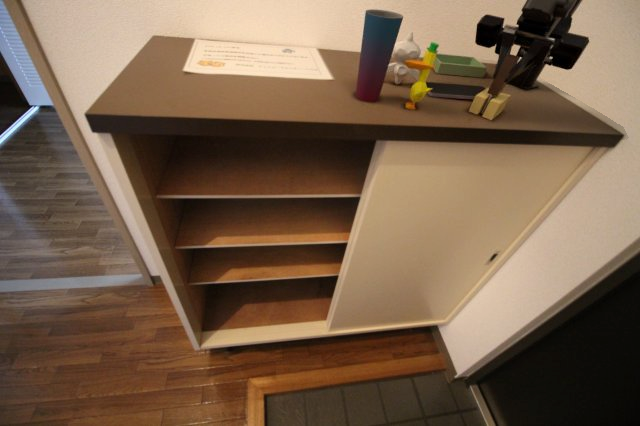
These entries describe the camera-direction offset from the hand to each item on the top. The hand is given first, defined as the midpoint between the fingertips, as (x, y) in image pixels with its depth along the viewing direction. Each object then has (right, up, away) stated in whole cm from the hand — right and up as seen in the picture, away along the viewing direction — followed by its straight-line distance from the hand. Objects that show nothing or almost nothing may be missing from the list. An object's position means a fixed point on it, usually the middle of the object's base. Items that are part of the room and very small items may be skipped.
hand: (499, 79), depth 55 cm
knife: (0, -4, +6) cm, 7 cm away
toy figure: (-16, -4, +4) cm, 17 cm away
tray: (+3, +15, +26) cm, 30 cm away
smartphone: (-3, +2, +12) cm, 13 cm away
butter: (+1, -4, +6) cm, 7 cm away
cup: (-25, -1, +6) cm, 26 cm away
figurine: (-17, +5, +13) cm, 22 cm away
